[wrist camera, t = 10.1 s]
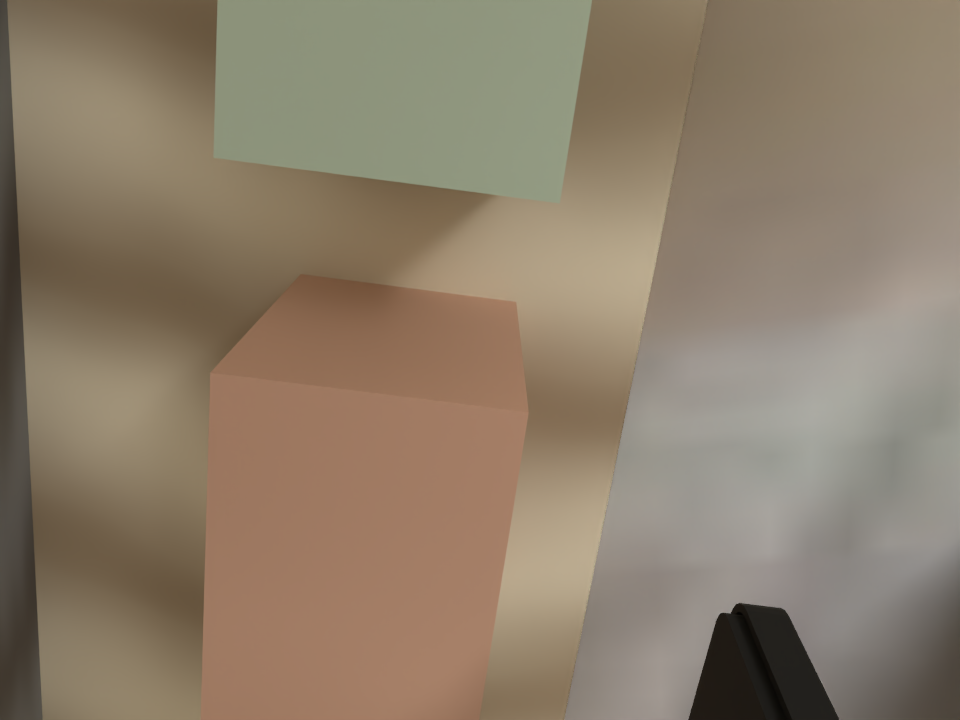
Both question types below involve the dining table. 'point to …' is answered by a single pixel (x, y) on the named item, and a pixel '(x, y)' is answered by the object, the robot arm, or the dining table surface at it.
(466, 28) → the green cuboid
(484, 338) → the salmon block
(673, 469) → the dining table surface
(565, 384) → the shelf board
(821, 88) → the dining table surface
